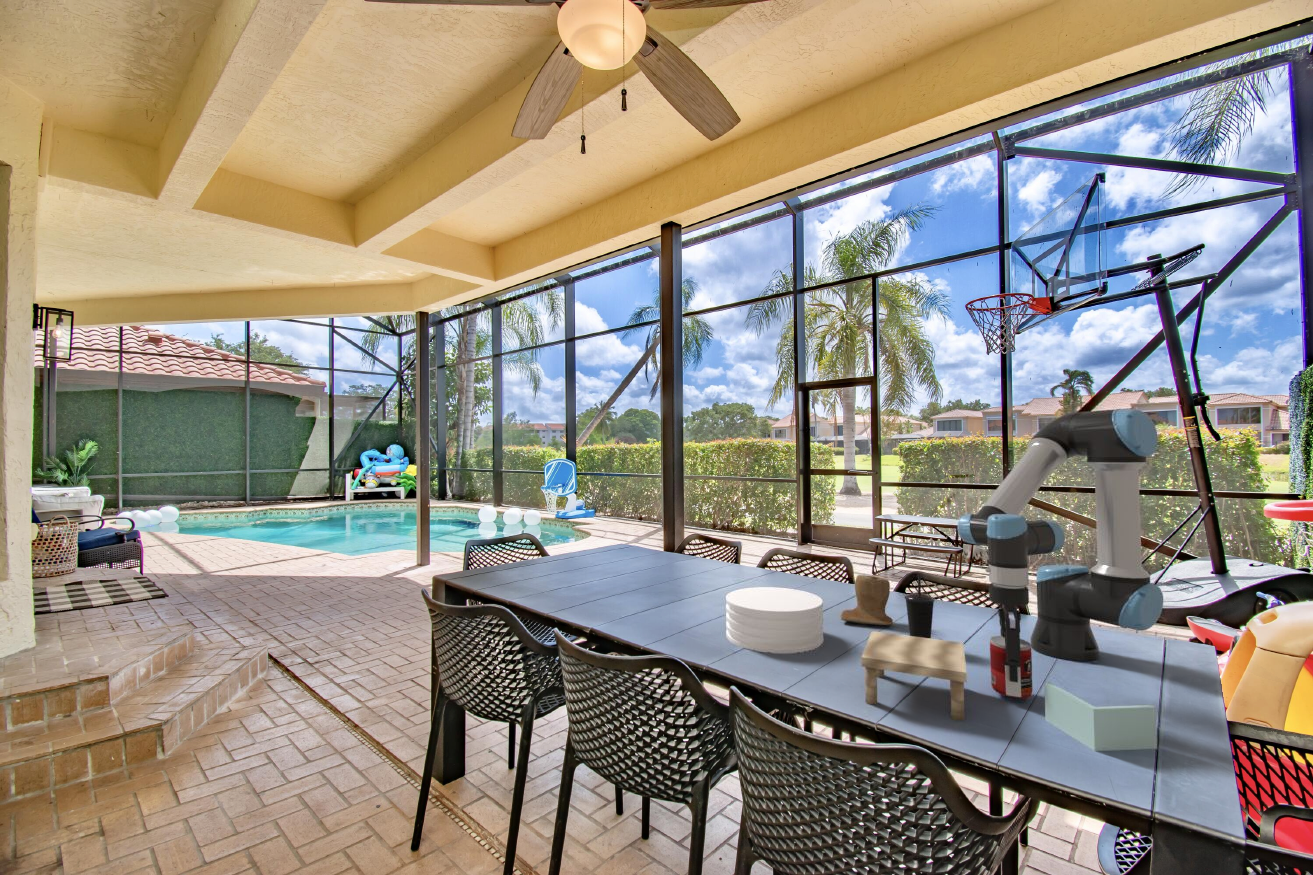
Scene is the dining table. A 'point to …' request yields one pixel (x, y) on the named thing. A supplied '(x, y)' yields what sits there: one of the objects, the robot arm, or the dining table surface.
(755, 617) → the plate stack
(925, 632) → the drinking cup
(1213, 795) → the dining table surface
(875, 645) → the footstool
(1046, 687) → the right angle wall
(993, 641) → the canned food
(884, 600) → the brown suede boots
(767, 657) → the dining table surface
